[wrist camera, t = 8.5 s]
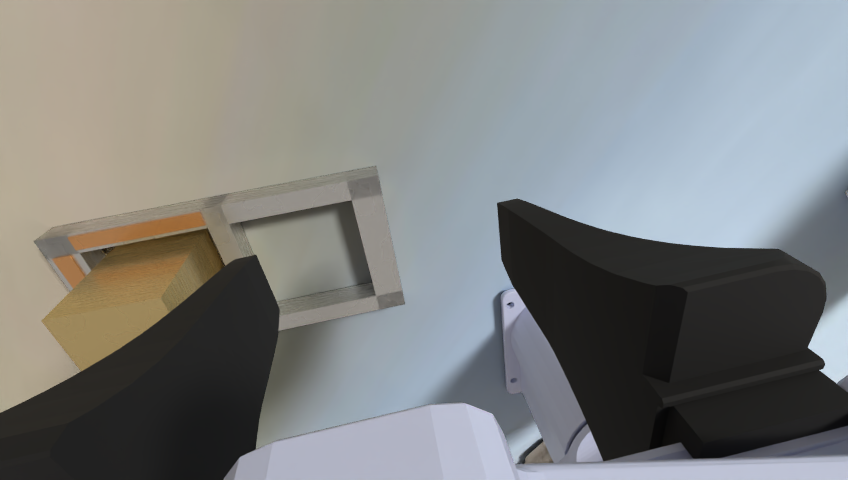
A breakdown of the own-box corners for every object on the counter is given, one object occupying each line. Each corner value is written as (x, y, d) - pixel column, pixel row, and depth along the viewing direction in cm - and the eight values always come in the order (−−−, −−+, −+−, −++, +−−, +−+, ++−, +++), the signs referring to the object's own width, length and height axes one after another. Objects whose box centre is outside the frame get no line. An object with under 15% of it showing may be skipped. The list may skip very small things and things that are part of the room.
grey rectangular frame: (402, 289, 25) (405, 305, 24) (133, 346, 24) (121, 365, 23) (376, 165, 21) (377, 176, 20) (52, 227, 20) (32, 242, 19)
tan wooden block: (237, 295, 24) (206, 376, 18) (157, 311, 23) (102, 397, 18) (206, 227, 21) (160, 297, 16) (117, 244, 21) (41, 320, 16)
